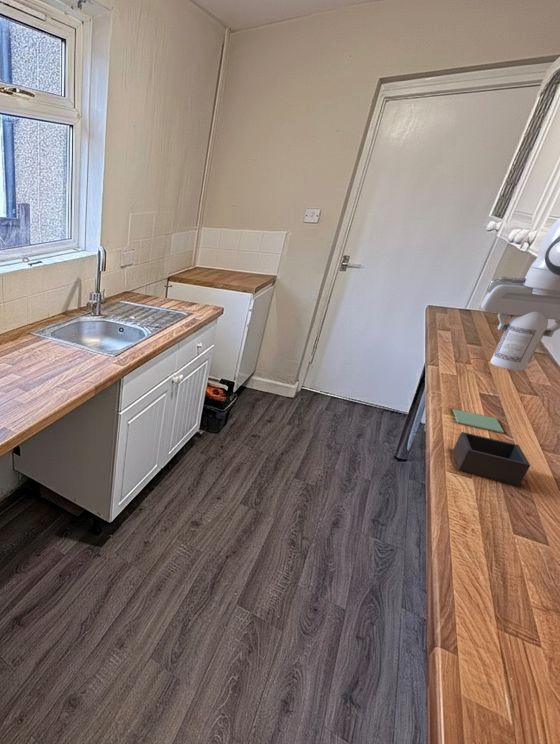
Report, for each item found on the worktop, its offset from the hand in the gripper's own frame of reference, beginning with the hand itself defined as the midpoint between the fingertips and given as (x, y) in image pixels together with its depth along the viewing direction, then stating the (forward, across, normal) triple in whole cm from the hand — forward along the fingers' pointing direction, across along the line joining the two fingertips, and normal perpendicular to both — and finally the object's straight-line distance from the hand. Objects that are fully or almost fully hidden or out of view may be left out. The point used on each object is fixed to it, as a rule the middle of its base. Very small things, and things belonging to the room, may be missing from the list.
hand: (523, 332), depth 109 cm
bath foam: (+10, 0, 0) cm, 10 cm away
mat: (+30, +1, +6) cm, 30 cm away
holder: (+30, -2, -25) cm, 39 cm away
